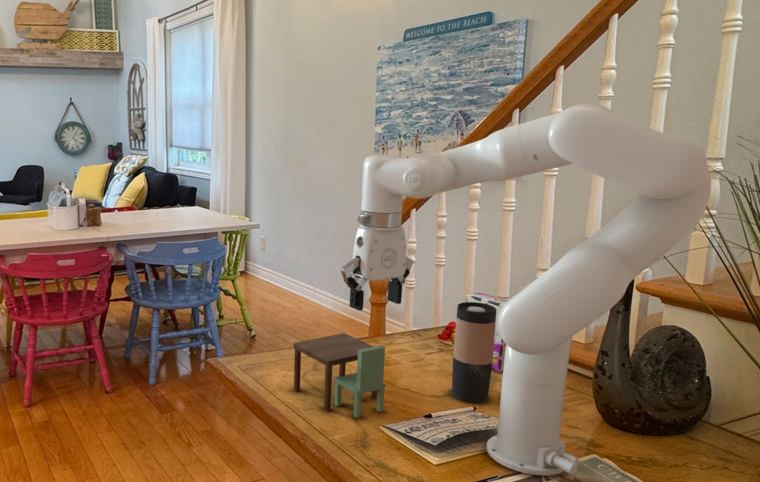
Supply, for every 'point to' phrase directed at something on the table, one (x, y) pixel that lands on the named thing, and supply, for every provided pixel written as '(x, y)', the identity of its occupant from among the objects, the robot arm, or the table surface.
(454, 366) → the travel mug
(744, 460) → the table surface
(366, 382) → the chair
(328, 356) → the side table
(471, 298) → the candy bar box
